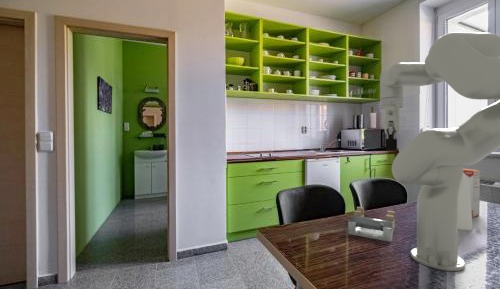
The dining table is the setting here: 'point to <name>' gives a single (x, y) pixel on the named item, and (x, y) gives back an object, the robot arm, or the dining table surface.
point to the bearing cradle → (389, 216)
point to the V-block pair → (370, 232)
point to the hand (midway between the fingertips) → (391, 149)
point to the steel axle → (371, 223)
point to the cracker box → (474, 189)
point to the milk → (464, 205)
